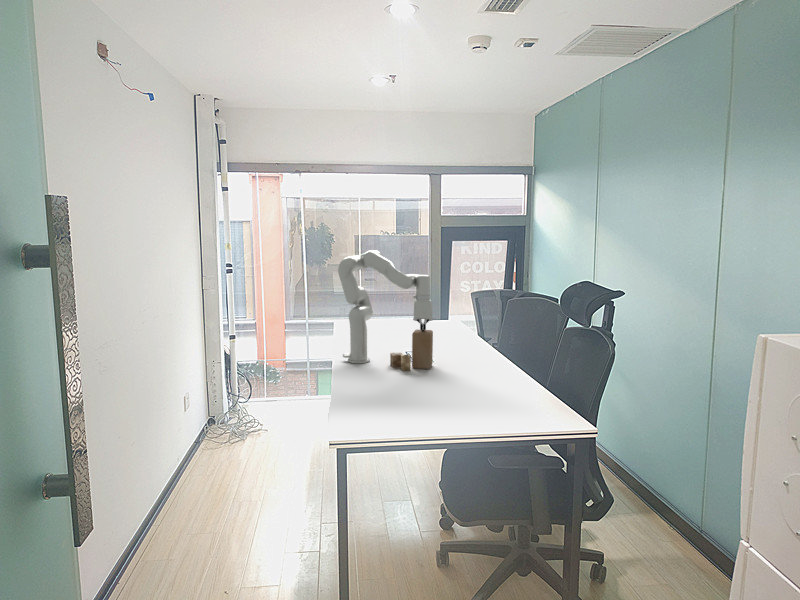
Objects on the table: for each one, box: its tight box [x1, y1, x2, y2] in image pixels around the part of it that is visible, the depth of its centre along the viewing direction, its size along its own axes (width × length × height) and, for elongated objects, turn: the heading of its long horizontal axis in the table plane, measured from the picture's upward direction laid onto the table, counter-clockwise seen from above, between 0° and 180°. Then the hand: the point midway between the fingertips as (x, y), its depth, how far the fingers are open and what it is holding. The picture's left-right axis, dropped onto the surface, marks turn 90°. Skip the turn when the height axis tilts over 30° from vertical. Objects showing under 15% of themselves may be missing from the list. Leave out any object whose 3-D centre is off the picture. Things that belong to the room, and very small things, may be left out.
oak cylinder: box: [400, 354, 412, 372], centre depth 301 cm, size 5×5×8 cm
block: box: [411, 329, 434, 370], centre depth 307 cm, size 10×10×20 cm
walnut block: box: [389, 352, 404, 369], centre depth 309 cm, size 6×6×7 cm
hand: (423, 331), depth 305 cm, fingers closed
